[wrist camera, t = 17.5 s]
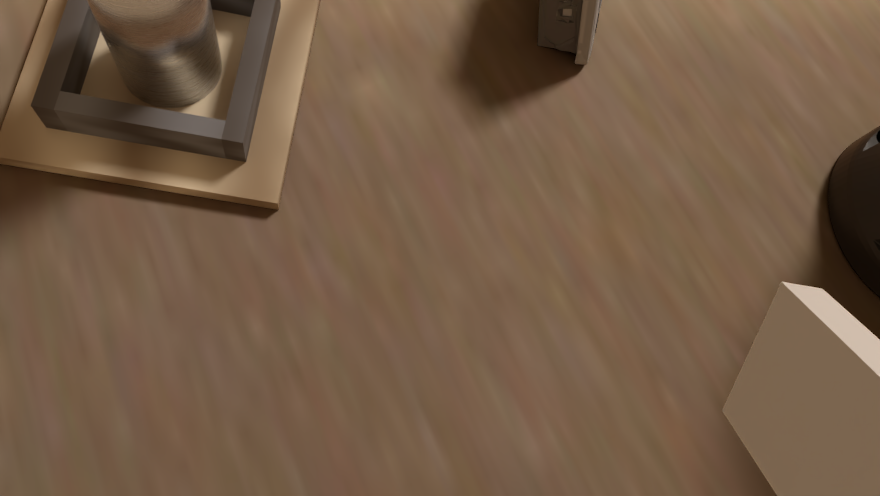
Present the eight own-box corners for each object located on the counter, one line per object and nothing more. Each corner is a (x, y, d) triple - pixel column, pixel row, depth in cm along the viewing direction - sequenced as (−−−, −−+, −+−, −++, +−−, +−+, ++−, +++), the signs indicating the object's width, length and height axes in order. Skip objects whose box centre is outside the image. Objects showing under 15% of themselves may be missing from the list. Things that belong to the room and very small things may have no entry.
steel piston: (233, 32, 45) (209, -119, 34) (213, 118, 43) (180, -13, 32) (131, 12, 44) (71, -149, 33) (105, 99, 42) (32, -42, 31)
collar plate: (321, -4, 48) (322, -40, 45) (278, 209, 43) (276, 186, 39) (76, -55, 46) (59, -97, 43) (-2, 163, 41) (-29, 134, 37)
